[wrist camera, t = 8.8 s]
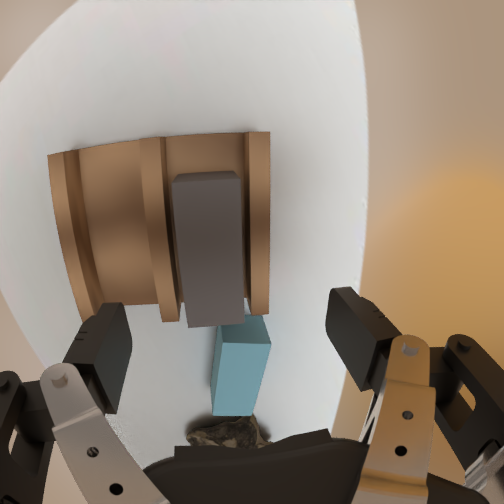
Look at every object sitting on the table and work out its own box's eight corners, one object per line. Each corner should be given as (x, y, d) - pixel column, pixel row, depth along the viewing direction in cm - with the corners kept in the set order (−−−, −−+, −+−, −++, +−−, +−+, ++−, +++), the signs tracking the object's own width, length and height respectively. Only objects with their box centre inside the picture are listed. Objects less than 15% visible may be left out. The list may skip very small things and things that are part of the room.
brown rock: (163, 428, 28) (202, 487, 20) (223, 383, 32) (276, 429, 24) (208, 465, 32) (248, 512, 24) (257, 427, 36) (304, 466, 28)
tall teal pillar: (245, 385, 28) (251, 415, 24) (210, 385, 27) (212, 415, 23) (261, 314, 25) (271, 344, 21) (219, 312, 24) (222, 342, 20)
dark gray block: (237, 292, 22) (244, 323, 18) (189, 296, 22) (188, 327, 18) (233, 170, 19) (240, 178, 15) (178, 174, 18) (171, 183, 15)
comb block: (259, 289, 24) (268, 314, 20) (95, 299, 22) (83, 324, 18) (259, 132, 19) (270, 131, 16) (70, 151, 17) (47, 155, 14)
